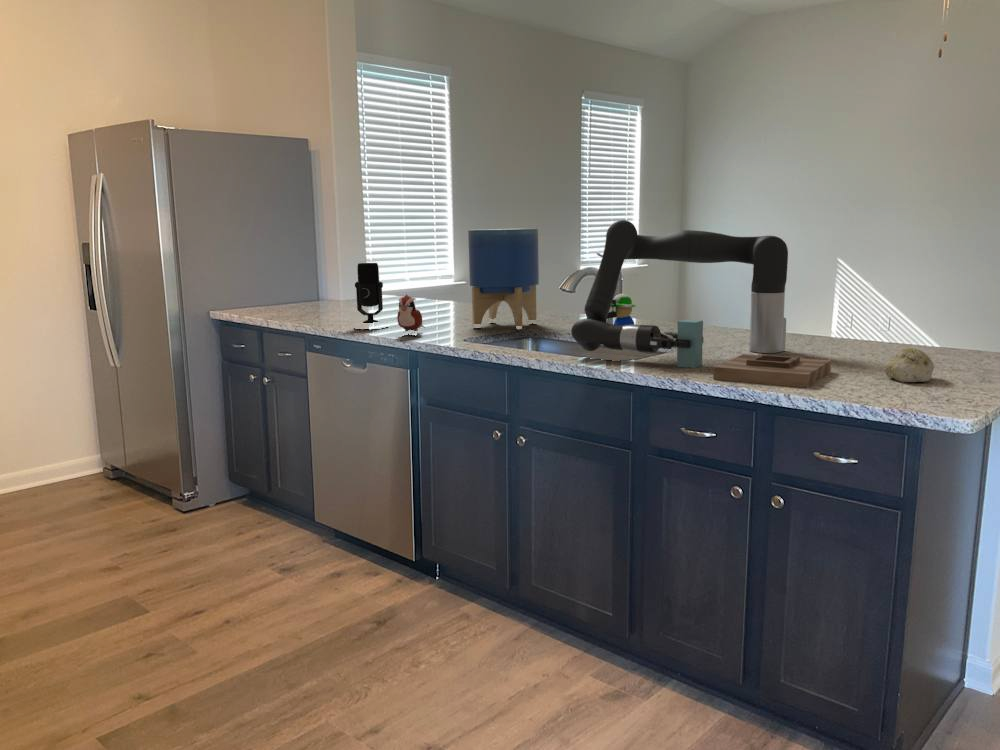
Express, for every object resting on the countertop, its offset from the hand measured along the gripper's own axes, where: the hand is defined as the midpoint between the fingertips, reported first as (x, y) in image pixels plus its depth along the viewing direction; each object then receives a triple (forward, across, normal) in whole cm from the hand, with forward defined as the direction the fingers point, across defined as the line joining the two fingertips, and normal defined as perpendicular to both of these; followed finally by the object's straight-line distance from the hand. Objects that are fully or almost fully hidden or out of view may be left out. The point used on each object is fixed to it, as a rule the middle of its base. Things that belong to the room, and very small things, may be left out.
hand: (697, 342), depth 212 cm
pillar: (-2, 0, +6) cm, 7 cm away
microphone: (-142, +25, +7) cm, 144 cm away
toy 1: (-112, +15, +7) cm, 113 cm away
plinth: (+21, -4, +6) cm, 23 cm away
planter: (-96, +51, +7) cm, 109 cm away
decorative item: (+50, +6, +7) cm, 51 cm away
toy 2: (-41, +39, +7) cm, 57 cm away
